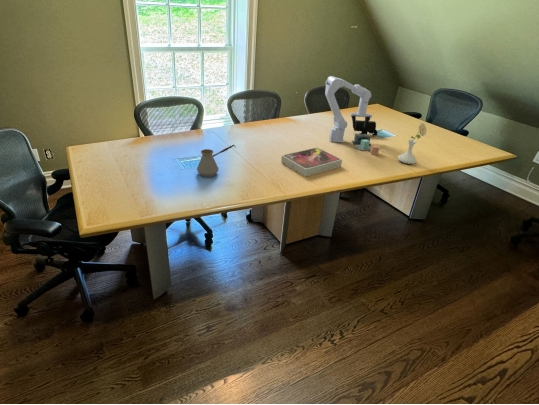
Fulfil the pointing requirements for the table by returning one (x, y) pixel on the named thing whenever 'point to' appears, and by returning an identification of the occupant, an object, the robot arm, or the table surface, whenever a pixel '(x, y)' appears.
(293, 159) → the product packaging
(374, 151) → the salmon pink block
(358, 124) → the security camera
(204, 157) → the coffee pot
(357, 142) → the block
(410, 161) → the flower in vase
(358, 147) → the pad
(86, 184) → the table surface
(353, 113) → the robot arm
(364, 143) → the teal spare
